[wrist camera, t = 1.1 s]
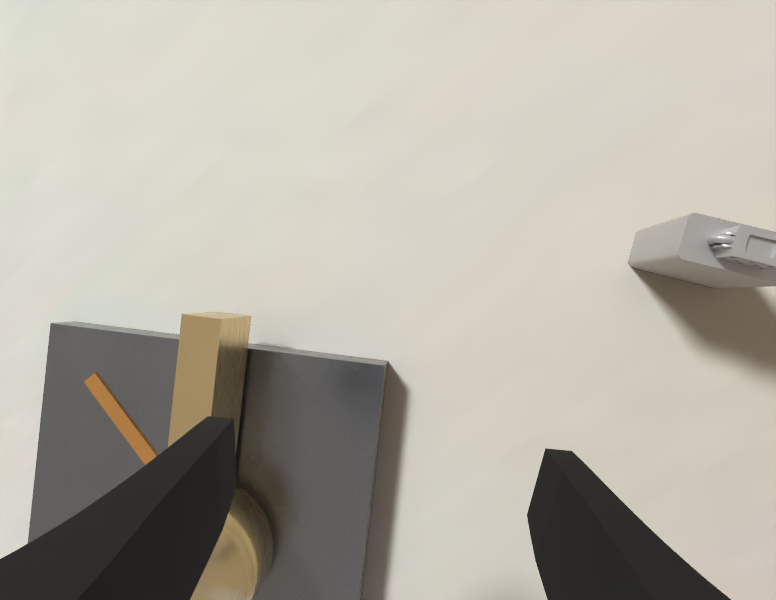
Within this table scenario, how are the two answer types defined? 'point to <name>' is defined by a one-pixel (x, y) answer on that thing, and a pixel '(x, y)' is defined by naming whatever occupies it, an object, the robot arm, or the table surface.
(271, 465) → the base plate
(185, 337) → the gold elongated piece
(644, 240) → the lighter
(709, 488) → the table surface
